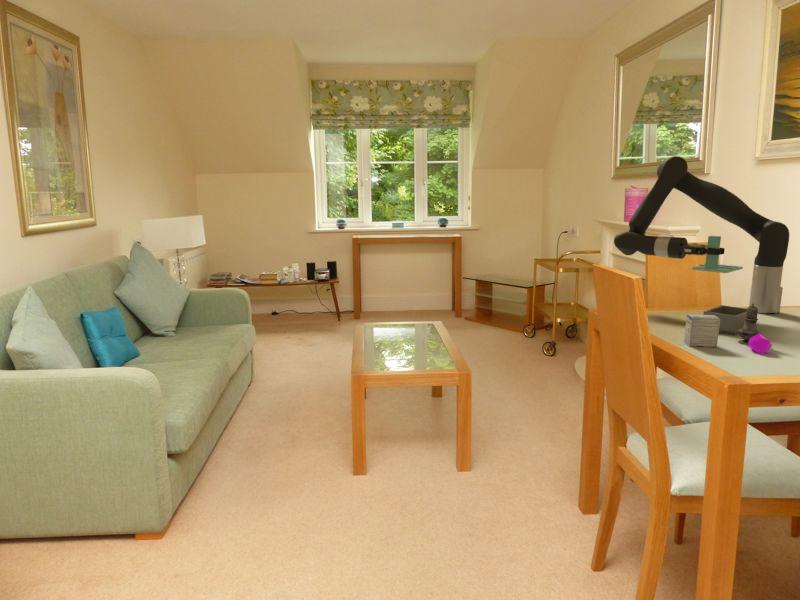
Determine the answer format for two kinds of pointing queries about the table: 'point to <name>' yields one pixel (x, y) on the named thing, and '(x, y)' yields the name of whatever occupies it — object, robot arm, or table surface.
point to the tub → (729, 318)
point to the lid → (715, 259)
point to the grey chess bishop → (749, 325)
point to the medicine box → (702, 330)
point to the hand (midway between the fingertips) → (721, 251)
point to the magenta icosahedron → (759, 344)
